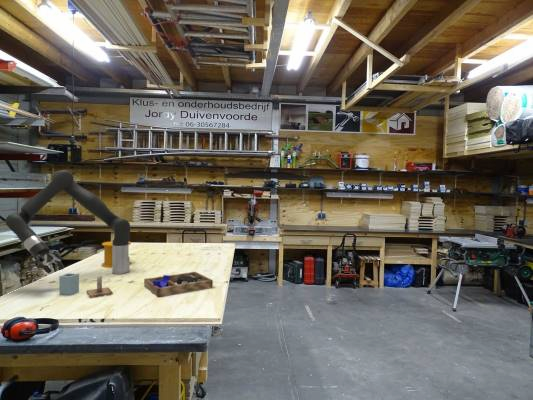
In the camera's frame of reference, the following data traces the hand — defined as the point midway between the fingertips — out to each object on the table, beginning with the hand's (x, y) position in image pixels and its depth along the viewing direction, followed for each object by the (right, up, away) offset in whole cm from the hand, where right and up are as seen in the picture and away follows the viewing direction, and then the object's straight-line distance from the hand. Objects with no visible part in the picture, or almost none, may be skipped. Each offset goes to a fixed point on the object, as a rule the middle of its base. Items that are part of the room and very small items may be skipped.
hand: (56, 270), depth 171 cm
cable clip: (+49, -12, +7) cm, 51 cm away
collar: (+7, -11, -1) cm, 13 cm away
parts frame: (+56, -12, +13) cm, 59 cm away
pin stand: (+22, -11, -1) cm, 24 cm away
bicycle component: (+63, -12, +17) cm, 66 cm away
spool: (+3, -9, +61) cm, 62 cm away
